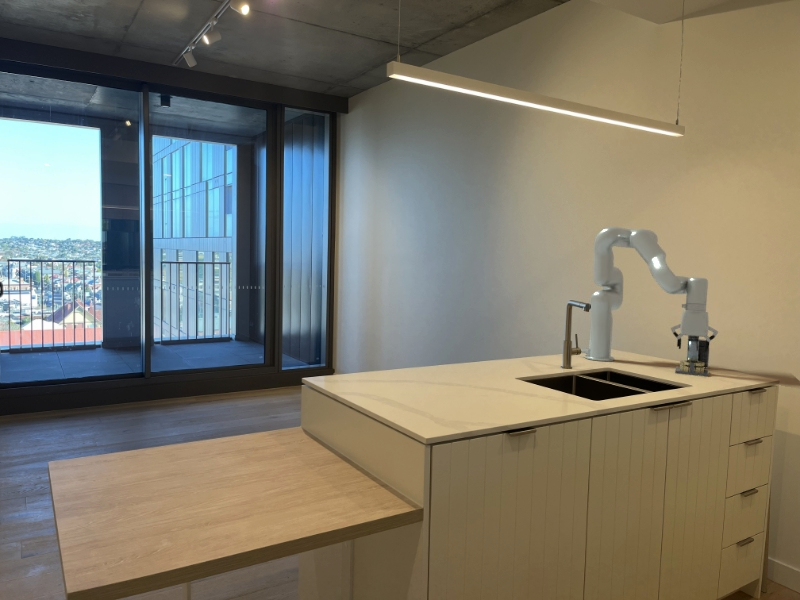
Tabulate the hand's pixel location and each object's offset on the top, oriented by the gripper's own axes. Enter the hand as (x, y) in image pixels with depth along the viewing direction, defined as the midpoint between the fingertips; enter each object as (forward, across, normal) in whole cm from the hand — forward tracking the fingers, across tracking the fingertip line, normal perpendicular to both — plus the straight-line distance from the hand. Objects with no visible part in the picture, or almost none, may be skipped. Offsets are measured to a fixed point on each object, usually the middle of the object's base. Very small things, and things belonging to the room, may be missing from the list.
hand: (692, 349), depth 249 cm
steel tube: (+8, 0, 0) cm, 8 cm away
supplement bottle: (+10, +3, +20) cm, 22 cm away
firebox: (+9, 0, 0) cm, 9 cm away
